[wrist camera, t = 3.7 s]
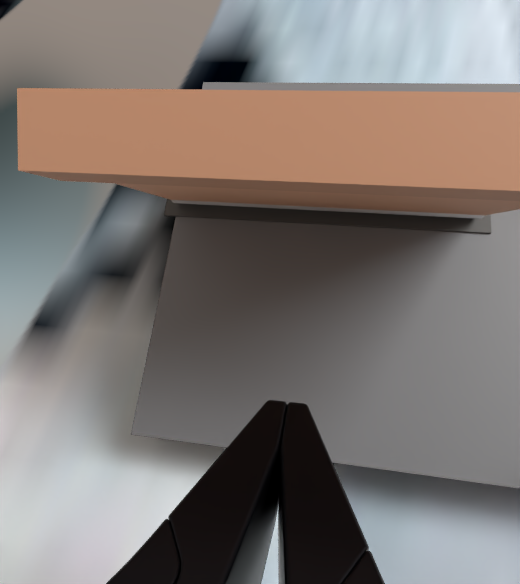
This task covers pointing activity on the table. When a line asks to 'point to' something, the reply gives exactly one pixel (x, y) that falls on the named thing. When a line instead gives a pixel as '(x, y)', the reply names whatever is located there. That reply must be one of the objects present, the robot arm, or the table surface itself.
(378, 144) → the tan flat block
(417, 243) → the switch panel
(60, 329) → the table surface
